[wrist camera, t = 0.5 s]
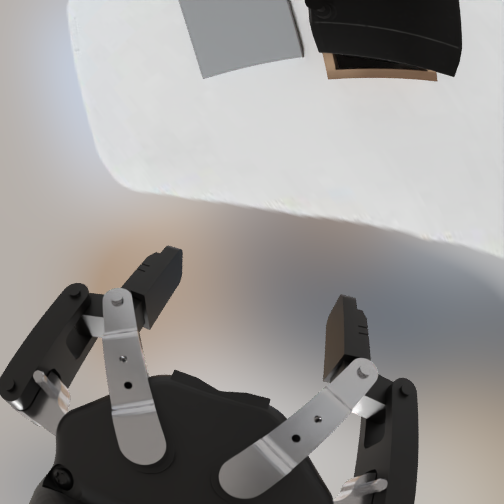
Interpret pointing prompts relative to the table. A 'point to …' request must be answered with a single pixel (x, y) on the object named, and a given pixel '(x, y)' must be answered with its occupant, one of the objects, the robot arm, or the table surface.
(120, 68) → the table surface
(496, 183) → the table surface
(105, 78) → the table surface
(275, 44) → the slate mat
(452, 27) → the portable radio
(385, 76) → the walnut collar
